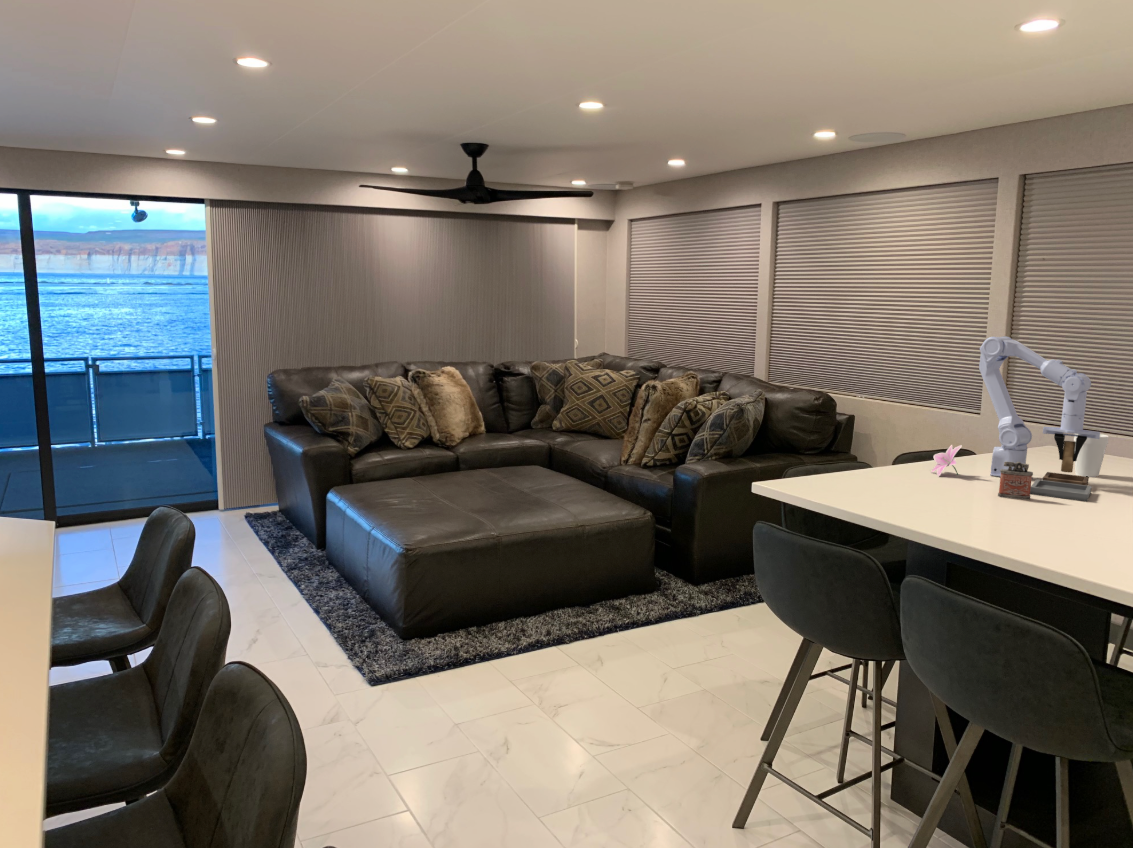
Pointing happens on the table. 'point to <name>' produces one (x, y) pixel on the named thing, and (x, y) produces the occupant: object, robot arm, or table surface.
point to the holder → (1066, 478)
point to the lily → (945, 460)
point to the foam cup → (1091, 456)
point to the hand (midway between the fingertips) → (1067, 460)
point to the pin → (1068, 456)
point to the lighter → (1015, 481)
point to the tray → (1061, 490)
